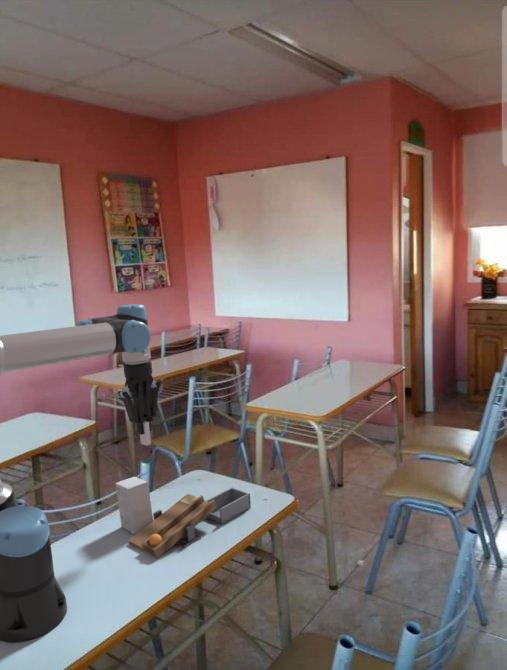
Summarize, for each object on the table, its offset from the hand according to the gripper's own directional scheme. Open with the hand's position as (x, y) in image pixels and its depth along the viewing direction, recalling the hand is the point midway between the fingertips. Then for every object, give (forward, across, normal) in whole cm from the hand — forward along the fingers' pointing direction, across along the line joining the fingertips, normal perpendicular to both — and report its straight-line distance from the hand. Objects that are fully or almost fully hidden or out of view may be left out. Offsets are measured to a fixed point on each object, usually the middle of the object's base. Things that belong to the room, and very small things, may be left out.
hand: (145, 443), depth 153 cm
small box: (+24, -4, +2) cm, 24 cm away
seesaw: (+21, 0, -9) cm, 23 cm away
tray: (+24, +17, -12) cm, 32 cm away
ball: (+21, -9, -12) cm, 26 cm away
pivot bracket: (+24, 0, -9) cm, 26 cm away
